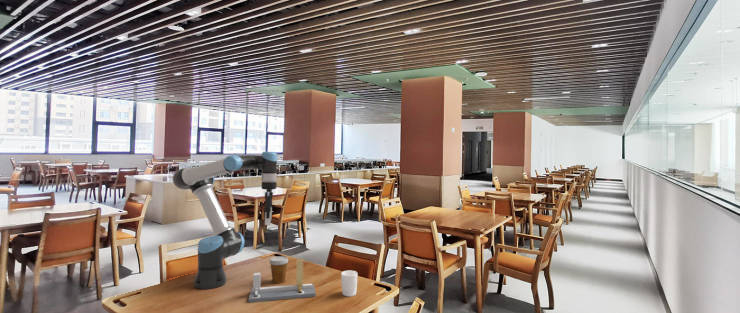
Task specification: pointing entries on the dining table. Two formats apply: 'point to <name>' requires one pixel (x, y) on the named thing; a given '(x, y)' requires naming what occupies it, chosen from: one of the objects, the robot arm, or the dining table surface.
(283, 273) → the disposable coffee cup
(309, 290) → the gauge plate
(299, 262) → the gold pointer slider
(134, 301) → the dining table surface
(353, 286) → the white cup
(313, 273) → the dining table surface
